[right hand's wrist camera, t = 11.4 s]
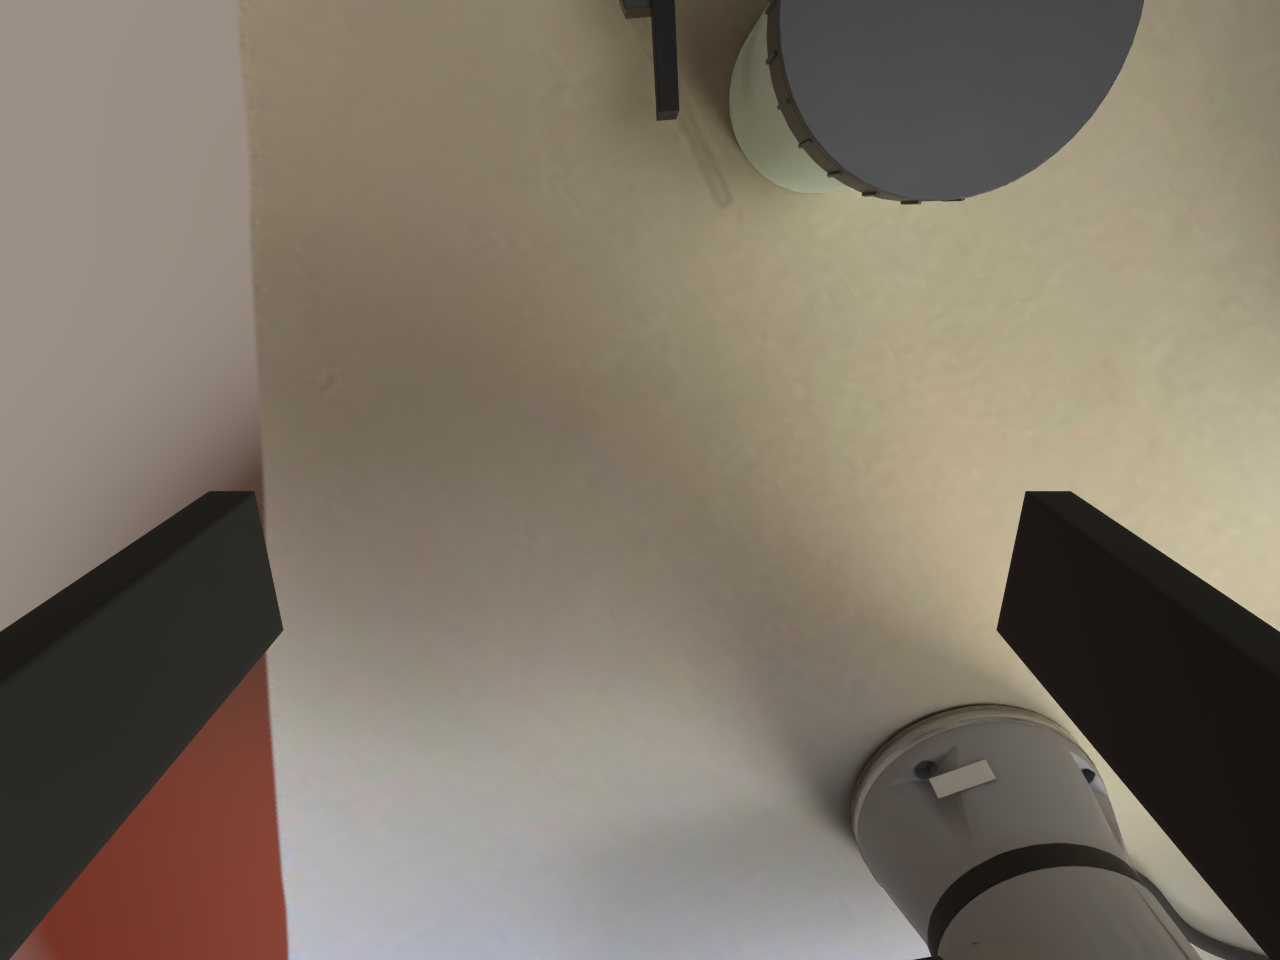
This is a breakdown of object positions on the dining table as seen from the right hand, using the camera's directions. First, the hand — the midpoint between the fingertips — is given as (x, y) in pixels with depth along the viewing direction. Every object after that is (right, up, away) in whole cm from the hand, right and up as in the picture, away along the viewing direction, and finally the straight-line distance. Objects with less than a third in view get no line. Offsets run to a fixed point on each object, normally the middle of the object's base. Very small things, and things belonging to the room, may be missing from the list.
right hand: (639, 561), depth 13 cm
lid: (+8, +13, +6) cm, 17 cm away
